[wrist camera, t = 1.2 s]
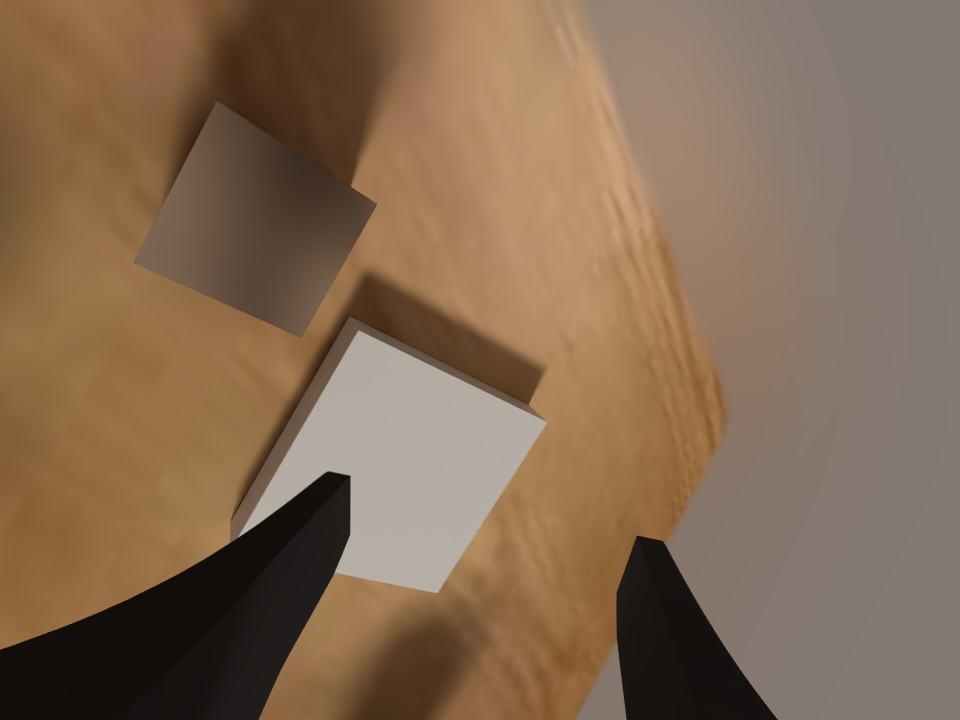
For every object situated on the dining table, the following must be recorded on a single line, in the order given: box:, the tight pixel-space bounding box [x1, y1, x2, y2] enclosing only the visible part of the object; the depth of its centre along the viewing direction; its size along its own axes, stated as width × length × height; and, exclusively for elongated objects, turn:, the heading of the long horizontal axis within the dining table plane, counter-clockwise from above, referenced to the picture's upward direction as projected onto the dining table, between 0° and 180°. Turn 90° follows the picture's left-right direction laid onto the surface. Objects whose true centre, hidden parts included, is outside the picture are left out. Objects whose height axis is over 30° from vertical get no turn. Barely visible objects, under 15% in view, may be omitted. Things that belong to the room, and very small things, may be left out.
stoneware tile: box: [230, 316, 547, 593], centre depth 25 cm, size 11×11×2 cm
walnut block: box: [133, 101, 377, 338], centre depth 18 cm, size 5×5×5 cm
